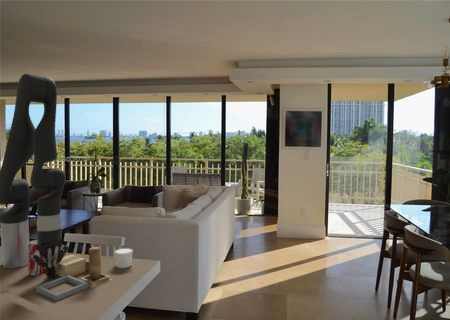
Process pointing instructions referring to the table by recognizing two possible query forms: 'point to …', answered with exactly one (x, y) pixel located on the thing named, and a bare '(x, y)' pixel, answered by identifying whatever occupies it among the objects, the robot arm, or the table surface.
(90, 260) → the rounded wooden peg
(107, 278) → the socket plate
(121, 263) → the white cup
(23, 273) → the table surface
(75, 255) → the block
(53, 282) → the tray
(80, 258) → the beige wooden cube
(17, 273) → the table surface
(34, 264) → the soda can
